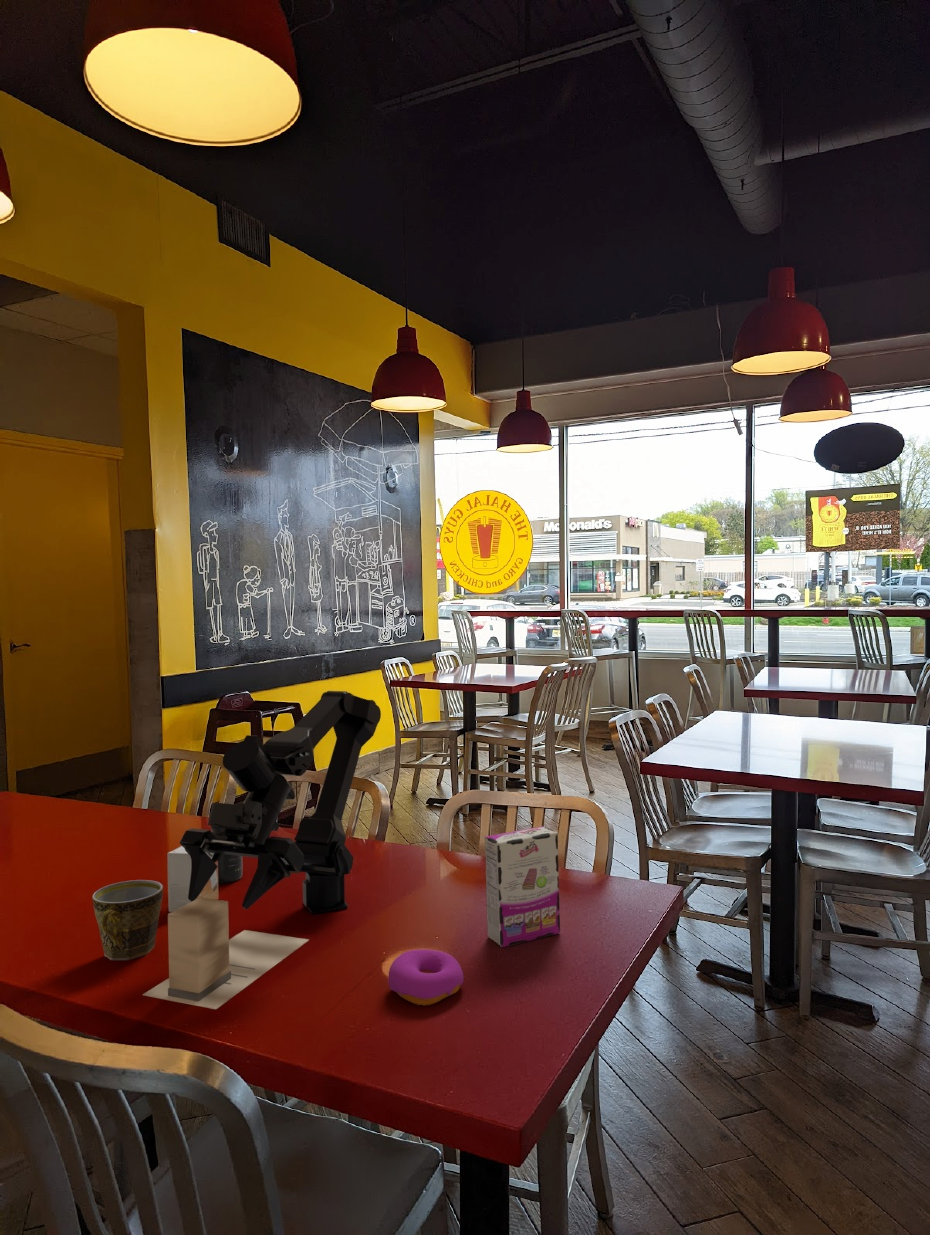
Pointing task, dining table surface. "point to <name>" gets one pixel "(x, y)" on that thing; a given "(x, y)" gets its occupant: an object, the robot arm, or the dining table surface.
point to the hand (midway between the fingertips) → (216, 904)
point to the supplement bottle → (227, 862)
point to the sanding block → (198, 948)
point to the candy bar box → (522, 885)
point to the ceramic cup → (128, 917)
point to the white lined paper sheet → (241, 966)
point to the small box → (185, 880)
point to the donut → (425, 976)
